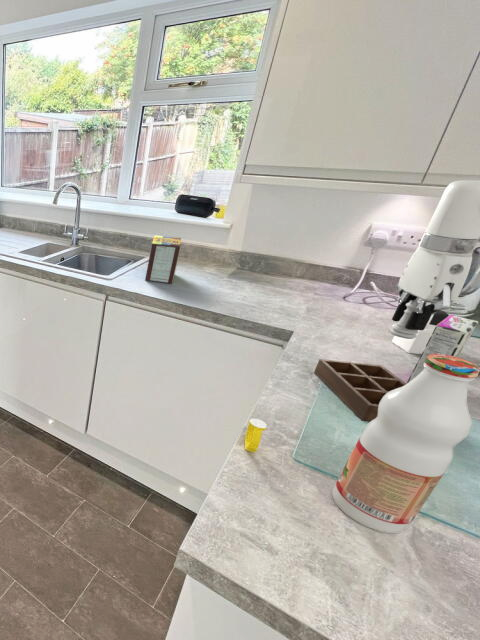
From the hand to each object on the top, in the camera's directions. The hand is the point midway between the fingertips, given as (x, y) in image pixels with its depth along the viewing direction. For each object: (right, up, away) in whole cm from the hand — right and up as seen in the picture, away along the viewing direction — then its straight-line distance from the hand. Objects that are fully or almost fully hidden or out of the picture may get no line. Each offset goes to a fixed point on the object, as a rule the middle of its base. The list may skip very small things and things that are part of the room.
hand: (407, 324), depth 92 cm
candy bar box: (+14, -15, +9) cm, 22 cm away
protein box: (-18, +19, +81) cm, 85 cm away
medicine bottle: (+29, -7, +25) cm, 39 cm away
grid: (-5, -17, +3) cm, 18 cm away
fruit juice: (-33, -30, -25) cm, 51 cm away
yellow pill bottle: (-43, -24, -11) cm, 51 cm away
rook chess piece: (0, -3, +1) cm, 3 cm away
